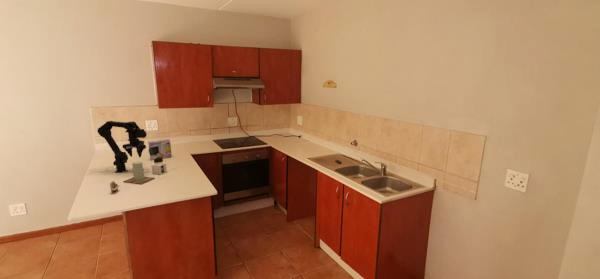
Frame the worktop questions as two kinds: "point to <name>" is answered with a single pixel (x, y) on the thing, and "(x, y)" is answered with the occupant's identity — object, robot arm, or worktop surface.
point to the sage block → (138, 171)
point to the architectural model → (113, 186)
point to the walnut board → (146, 179)
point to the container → (158, 166)
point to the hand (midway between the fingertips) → (135, 156)
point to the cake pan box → (160, 148)
